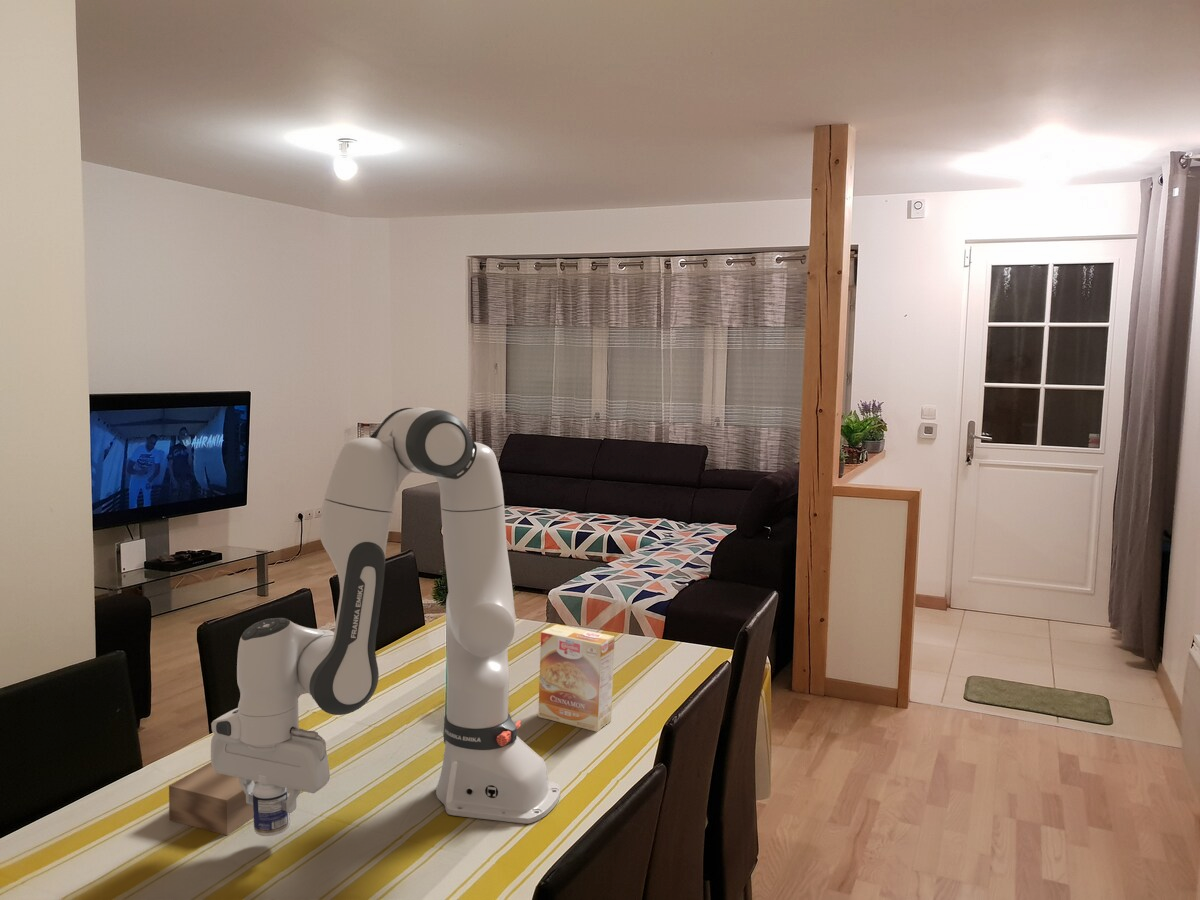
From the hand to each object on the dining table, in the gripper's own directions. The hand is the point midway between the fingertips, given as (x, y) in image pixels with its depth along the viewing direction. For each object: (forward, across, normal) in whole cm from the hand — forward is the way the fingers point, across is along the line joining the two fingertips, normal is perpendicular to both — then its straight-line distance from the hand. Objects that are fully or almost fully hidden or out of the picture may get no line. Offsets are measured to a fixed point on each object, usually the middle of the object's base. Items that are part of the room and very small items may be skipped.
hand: (271, 806), depth 139 cm
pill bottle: (+4, 0, 0) cm, 4 cm away
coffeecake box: (+8, -27, -65) cm, 71 cm away
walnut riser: (+6, +15, -6) cm, 17 cm away
